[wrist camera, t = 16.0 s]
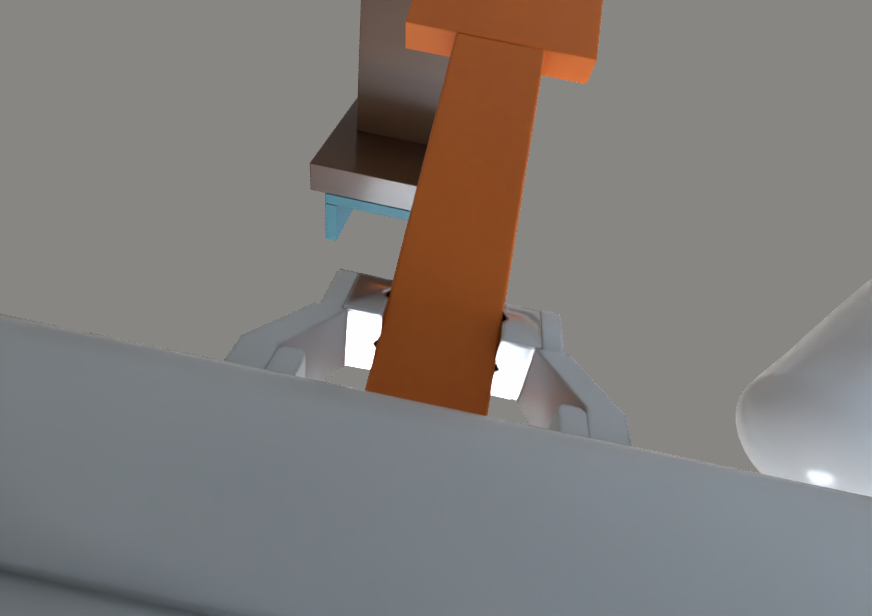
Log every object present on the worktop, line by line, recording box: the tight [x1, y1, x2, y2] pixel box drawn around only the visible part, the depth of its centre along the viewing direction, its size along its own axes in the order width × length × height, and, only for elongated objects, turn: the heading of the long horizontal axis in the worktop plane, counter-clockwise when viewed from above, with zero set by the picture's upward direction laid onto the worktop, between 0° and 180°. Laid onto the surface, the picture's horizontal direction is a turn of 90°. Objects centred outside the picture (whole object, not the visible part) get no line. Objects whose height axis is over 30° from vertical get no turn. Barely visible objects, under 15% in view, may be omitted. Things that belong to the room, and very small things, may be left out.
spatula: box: [365, 0, 603, 416], centre depth 16 cm, size 20×6×2 cm, turn 9°
